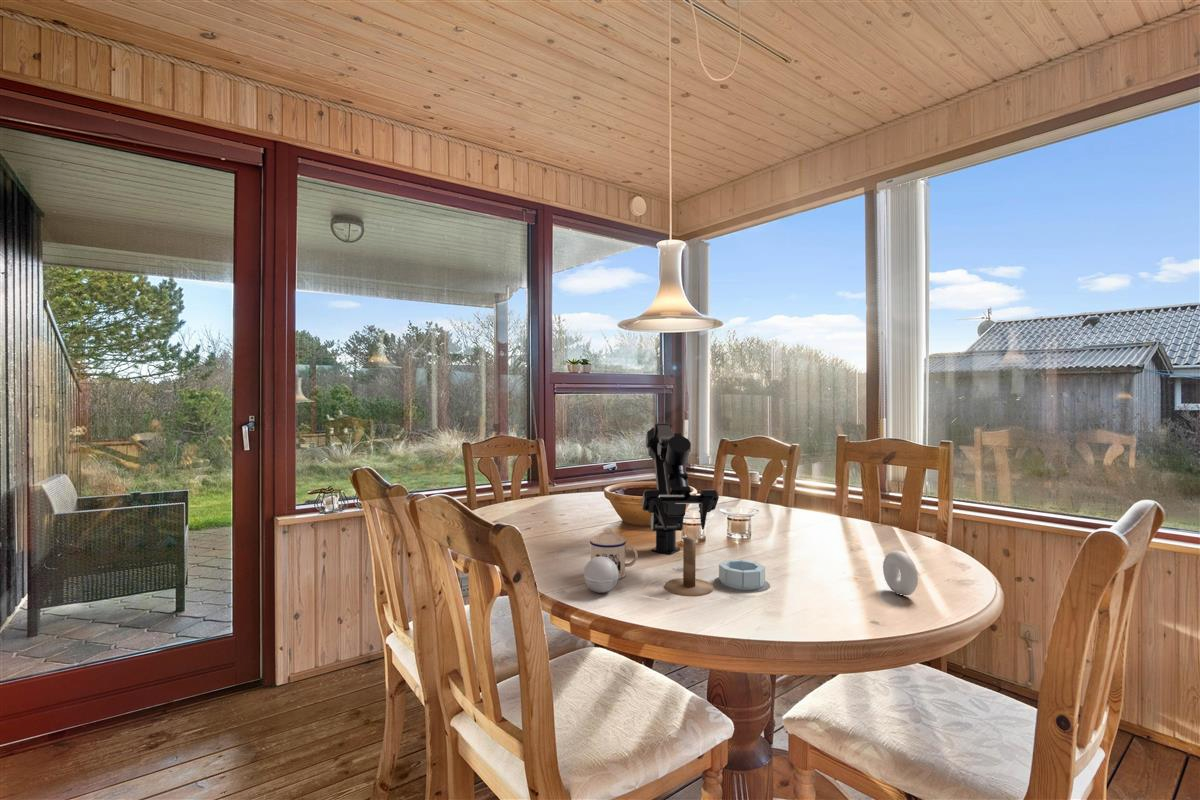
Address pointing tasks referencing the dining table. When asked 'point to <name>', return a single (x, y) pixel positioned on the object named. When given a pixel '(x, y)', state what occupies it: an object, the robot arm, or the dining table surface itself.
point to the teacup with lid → (612, 549)
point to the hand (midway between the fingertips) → (684, 528)
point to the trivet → (764, 588)
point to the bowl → (742, 574)
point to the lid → (689, 574)
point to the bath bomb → (601, 574)
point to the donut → (907, 569)
